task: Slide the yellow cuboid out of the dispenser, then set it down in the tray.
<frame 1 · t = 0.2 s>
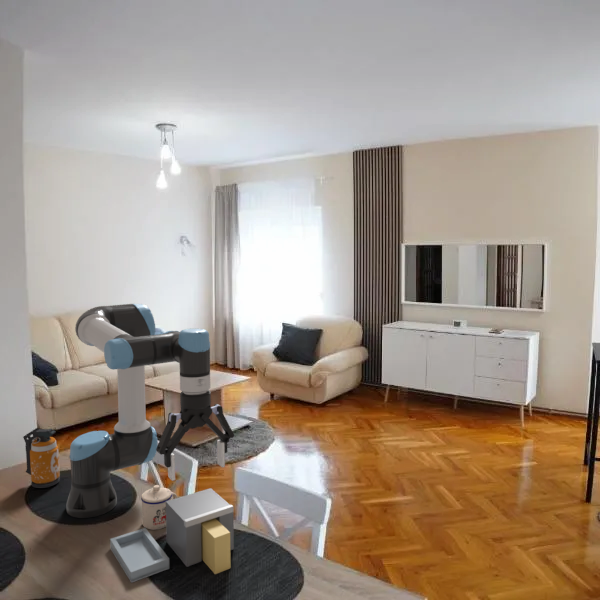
hand: (197, 471, 134), 27 cm above the table, fingers open, 13 cm apart
canister: (42, 484, 185), on the table
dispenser: (199, 545, 148), on the table
tray: (138, 558, 142), on the table
yellow cuboid: (212, 559, 142), on the table
teacup with lid: (161, 521, 161), on the table
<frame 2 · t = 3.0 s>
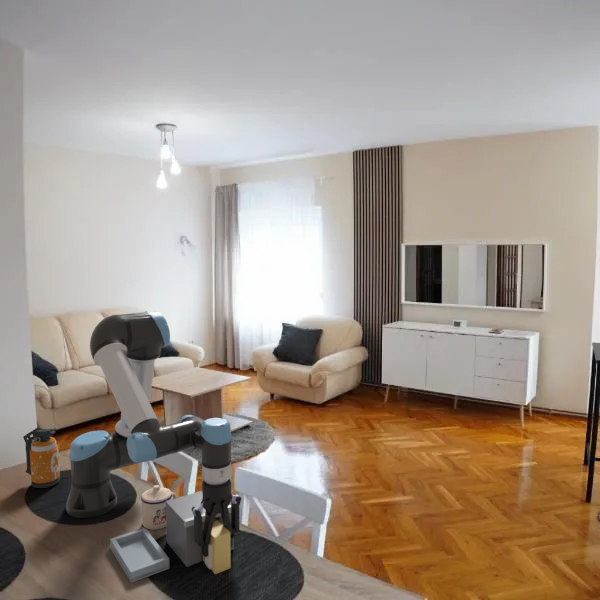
hand: (217, 562, 139), 1 cm above the table, fingers closed on yellow cuboid, 4 cm apart
yellow cuboid: (212, 559, 142), on the table, touching gripper
everything else where it was.
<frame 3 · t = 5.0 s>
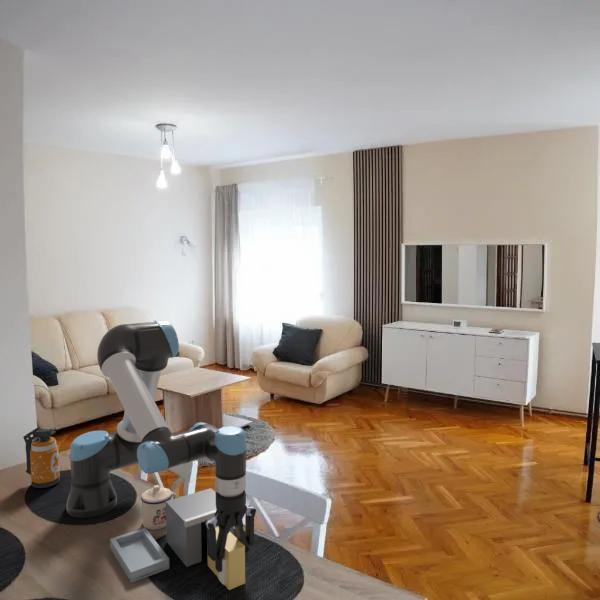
hand: (231, 577, 133), 1 cm above the table, fingers closed on yellow cuboid, 4 cm apart
yellow cuboid: (225, 574, 136), on the table, touching gripper
everything else where it was.
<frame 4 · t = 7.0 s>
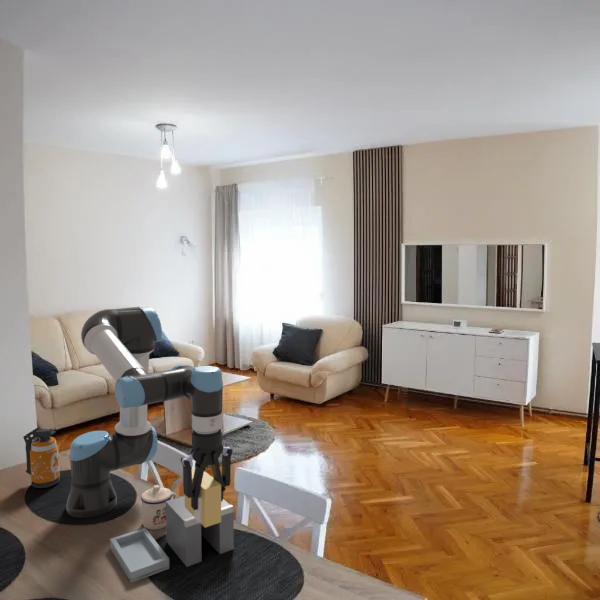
hand: (207, 516, 134), 16 cm above the table, fingers closed on yellow cuboid, 4 cm apart
yellow cuboid: (202, 514, 136), point 15 cm above the table, touching gripper
everything else where it was.
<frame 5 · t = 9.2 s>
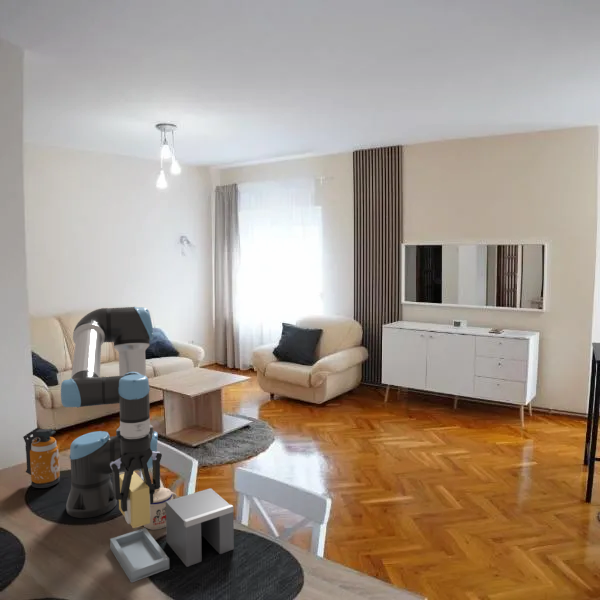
hand: (137, 518, 141), 11 cm above the table, fingers closed on yellow cuboid, 4 cm apart
yellow cuboid: (134, 516, 143), point 11 cm above the table, touching gripper
everything else where it was.
when the fingers open (3 cm above the table, at t = 10.9 s): yellow cuboid stays where it is, resting on tray.
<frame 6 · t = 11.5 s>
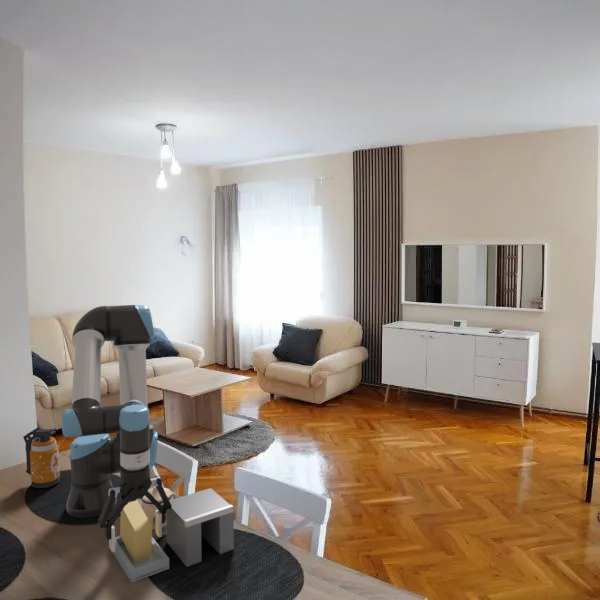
hand: (136, 542, 141), 5 cm above the table, fingers open, 12 cm apart
yellow cuboid: (135, 546, 144), point 2 cm above the table, tilted 11°, touching tray
everything else where it was.
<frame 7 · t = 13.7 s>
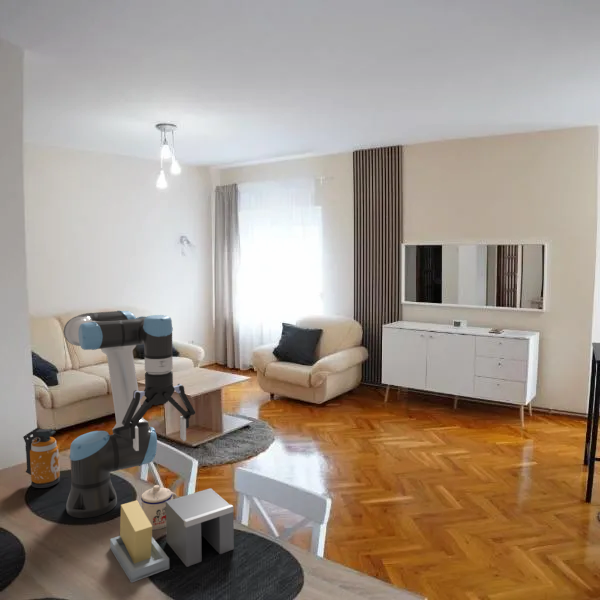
hand: (160, 444, 149), 28 cm above the table, fingers open, 13 cm apart
nothing on the table moved.
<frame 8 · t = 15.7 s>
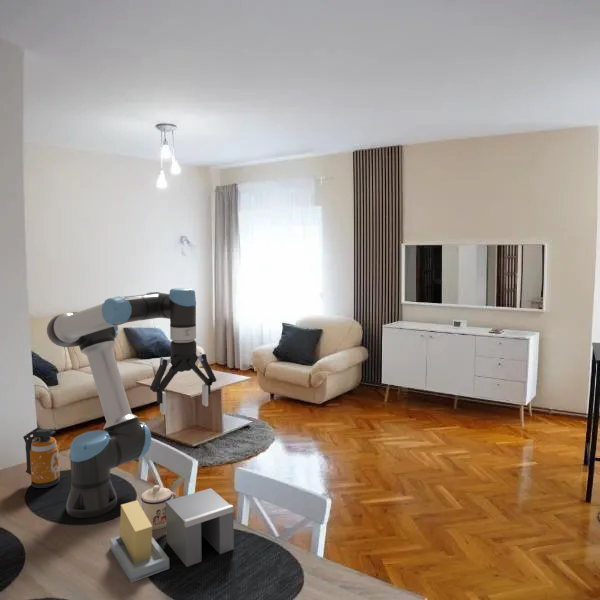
hand: (184, 409, 159), 35 cm above the table, fingers open, 13 cm apart
nothing on the table moved.
at the end: yellow cuboid inside the target area on the tray (3.0 cm from its centre), point 1.9 cm above the tray's base; yellow cuboid touching tray; the gripper is holding nothing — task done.
